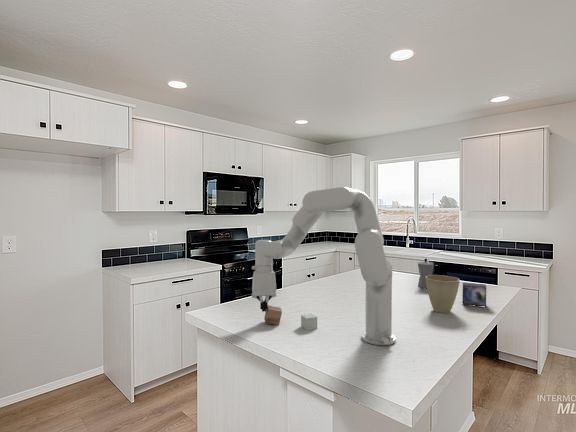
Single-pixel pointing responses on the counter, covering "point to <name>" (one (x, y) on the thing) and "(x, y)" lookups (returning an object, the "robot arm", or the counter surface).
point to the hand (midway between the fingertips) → (263, 310)
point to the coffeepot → (425, 272)
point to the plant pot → (442, 292)
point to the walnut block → (273, 315)
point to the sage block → (309, 321)
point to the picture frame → (474, 294)
